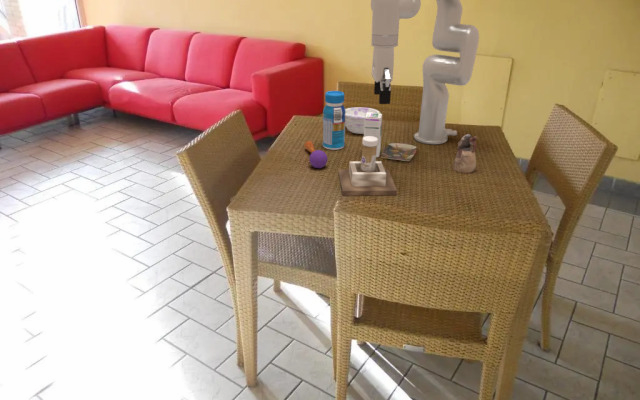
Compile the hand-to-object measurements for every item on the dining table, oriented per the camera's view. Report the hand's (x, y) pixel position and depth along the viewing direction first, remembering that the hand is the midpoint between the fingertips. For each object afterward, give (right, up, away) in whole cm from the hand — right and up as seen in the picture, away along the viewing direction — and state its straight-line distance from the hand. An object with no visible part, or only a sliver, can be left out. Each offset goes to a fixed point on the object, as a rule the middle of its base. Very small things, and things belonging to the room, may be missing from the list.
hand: (381, 98), depth 146 cm
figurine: (+29, -20, +15) cm, 39 cm away
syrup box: (0, -14, +27) cm, 30 cm away
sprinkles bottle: (-4, -24, +4) cm, 25 cm away
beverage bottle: (-14, -11, +33) cm, 38 cm away
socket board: (-4, -26, +4) cm, 26 cm away
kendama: (-21, -17, +22) cm, 35 cm away
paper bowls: (-2, -3, +50) cm, 50 cm away
